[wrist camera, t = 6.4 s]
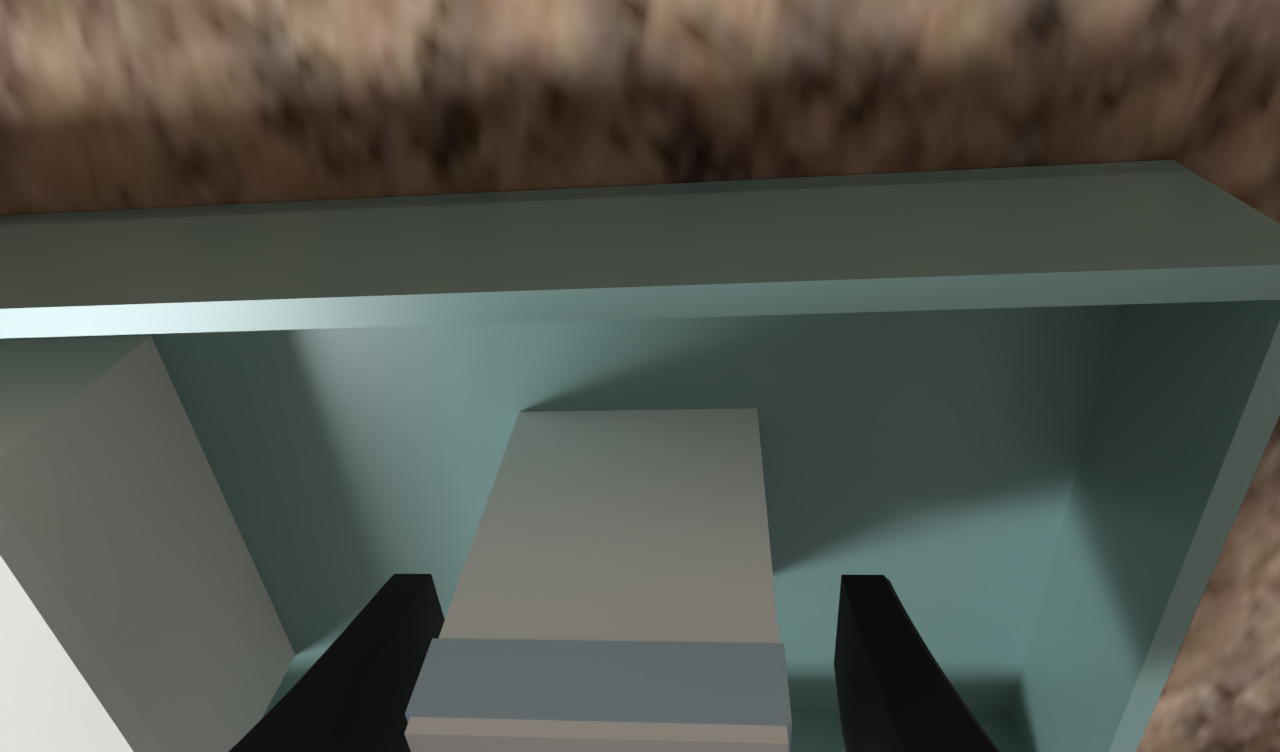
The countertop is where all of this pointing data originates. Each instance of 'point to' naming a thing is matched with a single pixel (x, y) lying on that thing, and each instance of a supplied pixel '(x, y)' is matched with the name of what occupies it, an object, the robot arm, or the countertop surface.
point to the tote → (740, 393)
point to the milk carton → (614, 595)
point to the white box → (120, 563)
